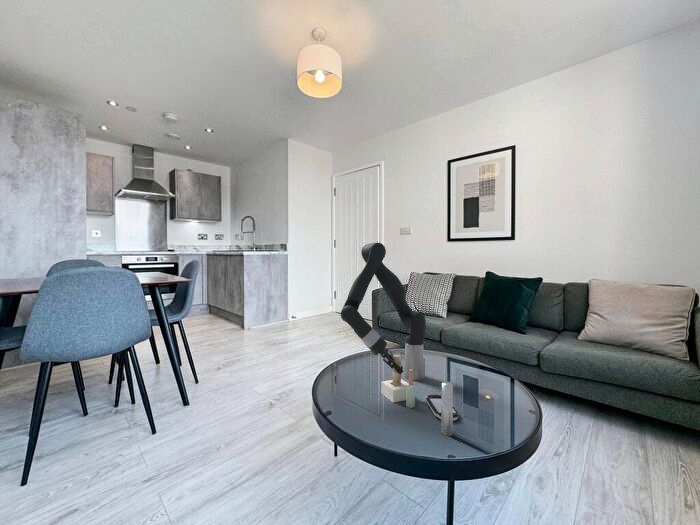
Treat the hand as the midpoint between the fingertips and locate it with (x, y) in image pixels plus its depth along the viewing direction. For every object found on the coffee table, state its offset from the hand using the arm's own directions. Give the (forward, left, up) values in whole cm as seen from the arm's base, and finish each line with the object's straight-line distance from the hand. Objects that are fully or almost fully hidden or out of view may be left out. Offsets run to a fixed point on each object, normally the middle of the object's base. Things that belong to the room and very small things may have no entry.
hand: (401, 370), depth 126 cm
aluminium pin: (+2, +30, -11) cm, 32 cm away
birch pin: (+2, -1, -6) cm, 6 cm away
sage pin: (+2, +9, -11) cm, 14 cm away
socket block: (+2, -1, -11) cm, 11 cm away
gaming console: (-8, +16, -11) cm, 21 cm away
